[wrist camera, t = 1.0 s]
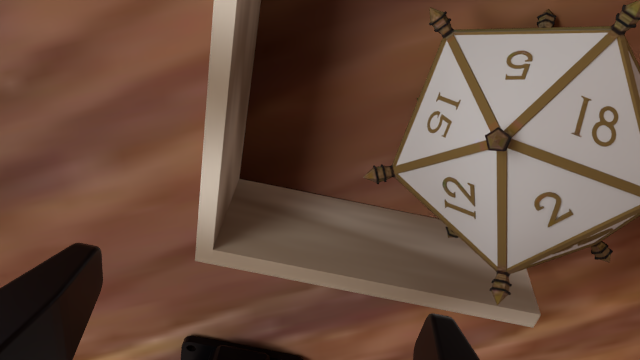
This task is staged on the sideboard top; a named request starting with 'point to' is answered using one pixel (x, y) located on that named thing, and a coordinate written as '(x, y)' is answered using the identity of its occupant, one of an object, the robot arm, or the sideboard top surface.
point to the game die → (527, 140)
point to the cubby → (324, 213)
